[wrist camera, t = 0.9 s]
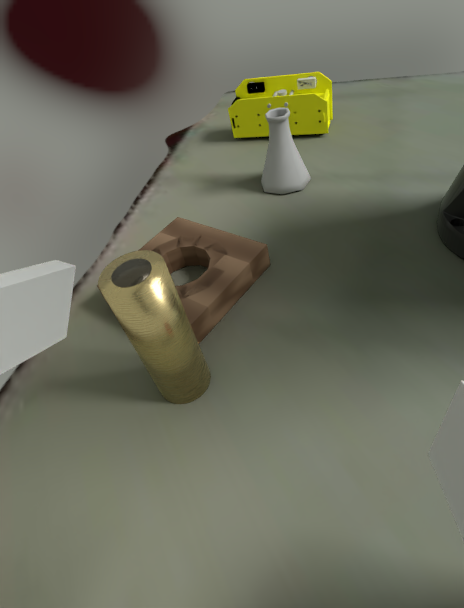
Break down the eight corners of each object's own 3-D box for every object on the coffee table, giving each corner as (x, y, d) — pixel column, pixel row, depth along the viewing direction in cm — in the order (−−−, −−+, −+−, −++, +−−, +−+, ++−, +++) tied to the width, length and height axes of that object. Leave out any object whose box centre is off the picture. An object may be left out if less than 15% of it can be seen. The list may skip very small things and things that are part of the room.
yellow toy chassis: (333, 122, 71) (331, 69, 65) (327, 139, 67) (326, 84, 62) (243, 127, 76) (234, 79, 71) (234, 143, 73) (224, 93, 67)
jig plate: (184, 235, 57) (177, 216, 54) (270, 264, 49) (266, 244, 47) (107, 303, 50) (96, 285, 48) (193, 349, 43) (185, 330, 40)
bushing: (183, 351, 43) (133, 243, 33) (221, 372, 40) (179, 260, 30) (149, 388, 40) (84, 283, 30) (187, 413, 38) (129, 306, 28)
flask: (312, 166, 62) (308, 97, 55) (309, 194, 58) (303, 122, 51) (264, 170, 64) (254, 104, 57) (257, 197, 60) (244, 128, 53)
